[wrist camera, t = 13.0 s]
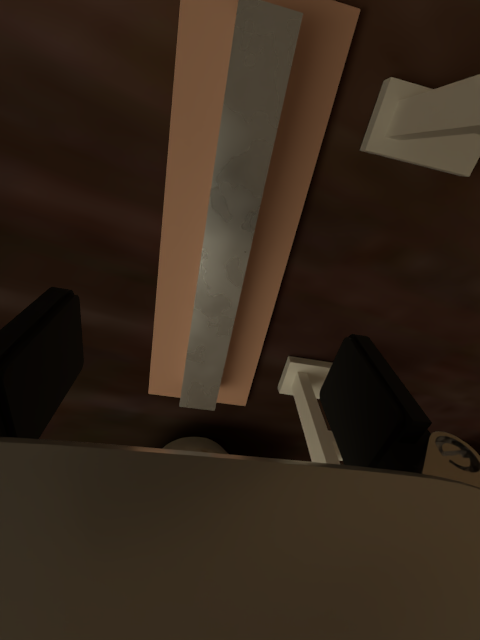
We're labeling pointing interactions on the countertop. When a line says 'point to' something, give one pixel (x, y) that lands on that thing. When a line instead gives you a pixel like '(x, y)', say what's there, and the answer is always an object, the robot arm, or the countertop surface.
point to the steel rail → (237, 186)
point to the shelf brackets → (412, 147)
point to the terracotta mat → (197, 172)
